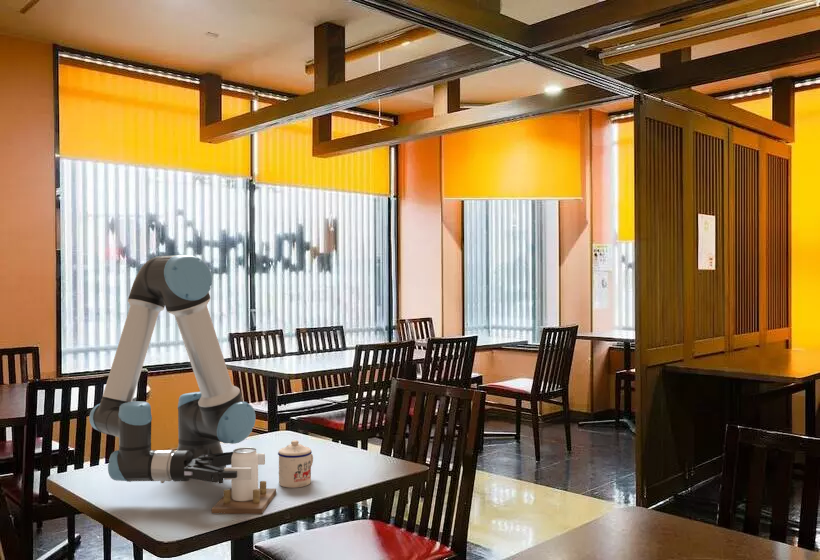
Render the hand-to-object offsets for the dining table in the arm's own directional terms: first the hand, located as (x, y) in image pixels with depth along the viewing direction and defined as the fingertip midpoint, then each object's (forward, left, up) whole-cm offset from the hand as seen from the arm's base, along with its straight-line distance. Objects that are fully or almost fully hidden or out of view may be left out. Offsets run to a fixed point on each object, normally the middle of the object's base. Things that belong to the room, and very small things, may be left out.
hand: (258, 466), depth 174 cm
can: (0, -3, -8) cm, 9 cm away
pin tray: (0, -3, -9) cm, 10 cm away
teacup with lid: (-18, +7, -9) cm, 21 cm away
